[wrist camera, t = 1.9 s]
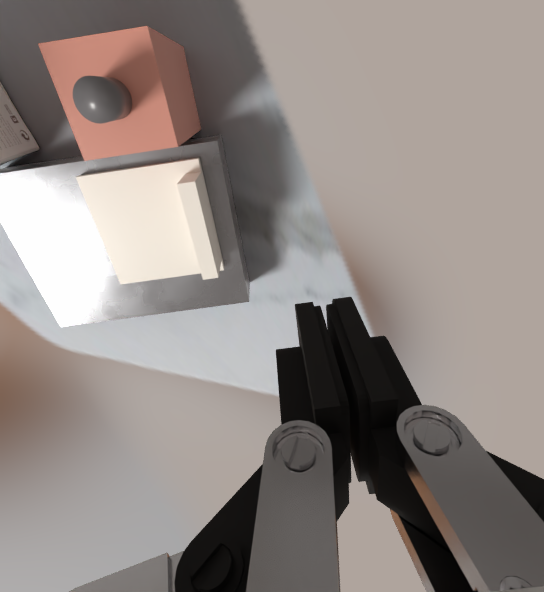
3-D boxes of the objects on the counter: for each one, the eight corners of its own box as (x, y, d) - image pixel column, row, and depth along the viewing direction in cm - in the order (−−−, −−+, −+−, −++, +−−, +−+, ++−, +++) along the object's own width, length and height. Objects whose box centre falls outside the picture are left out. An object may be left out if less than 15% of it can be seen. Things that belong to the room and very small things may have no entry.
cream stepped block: (79, 175, 21) (54, 187, 18) (199, 157, 21) (191, 167, 18) (122, 281, 25) (107, 303, 22) (224, 267, 25) (220, 287, 22)
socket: (5, 167, 23) (-25, 177, 21) (221, 134, 23) (217, 140, 20) (77, 306, 29) (60, 327, 27) (249, 282, 29) (249, 301, 26)
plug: (109, 58, 21) (6, 37, 12) (183, 46, 20) (131, 17, 12) (135, 139, 23) (64, 169, 14) (201, 129, 23) (168, 153, 14)
